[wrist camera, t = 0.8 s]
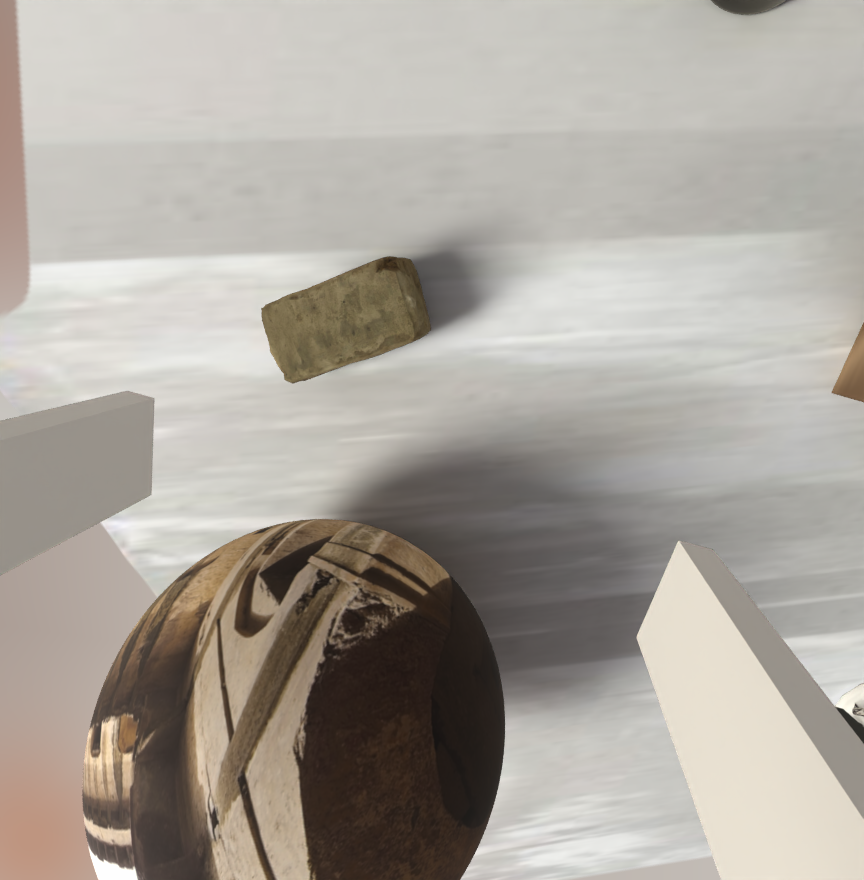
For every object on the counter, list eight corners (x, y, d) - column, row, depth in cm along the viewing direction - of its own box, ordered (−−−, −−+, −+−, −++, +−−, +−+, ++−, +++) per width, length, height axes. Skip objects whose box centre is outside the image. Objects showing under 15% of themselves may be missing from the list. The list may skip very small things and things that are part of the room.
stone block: (442, 332, 35) (424, 339, 30) (311, 379, 39) (278, 391, 34) (414, 252, 34) (392, 247, 29) (283, 309, 37) (244, 312, 33)
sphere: (541, 691, 43) (570, 1164, 20) (302, 723, 49) (103, 1113, 26) (458, 435, 38) (358, 659, 14) (201, 507, 44) (-167, 746, 20)
